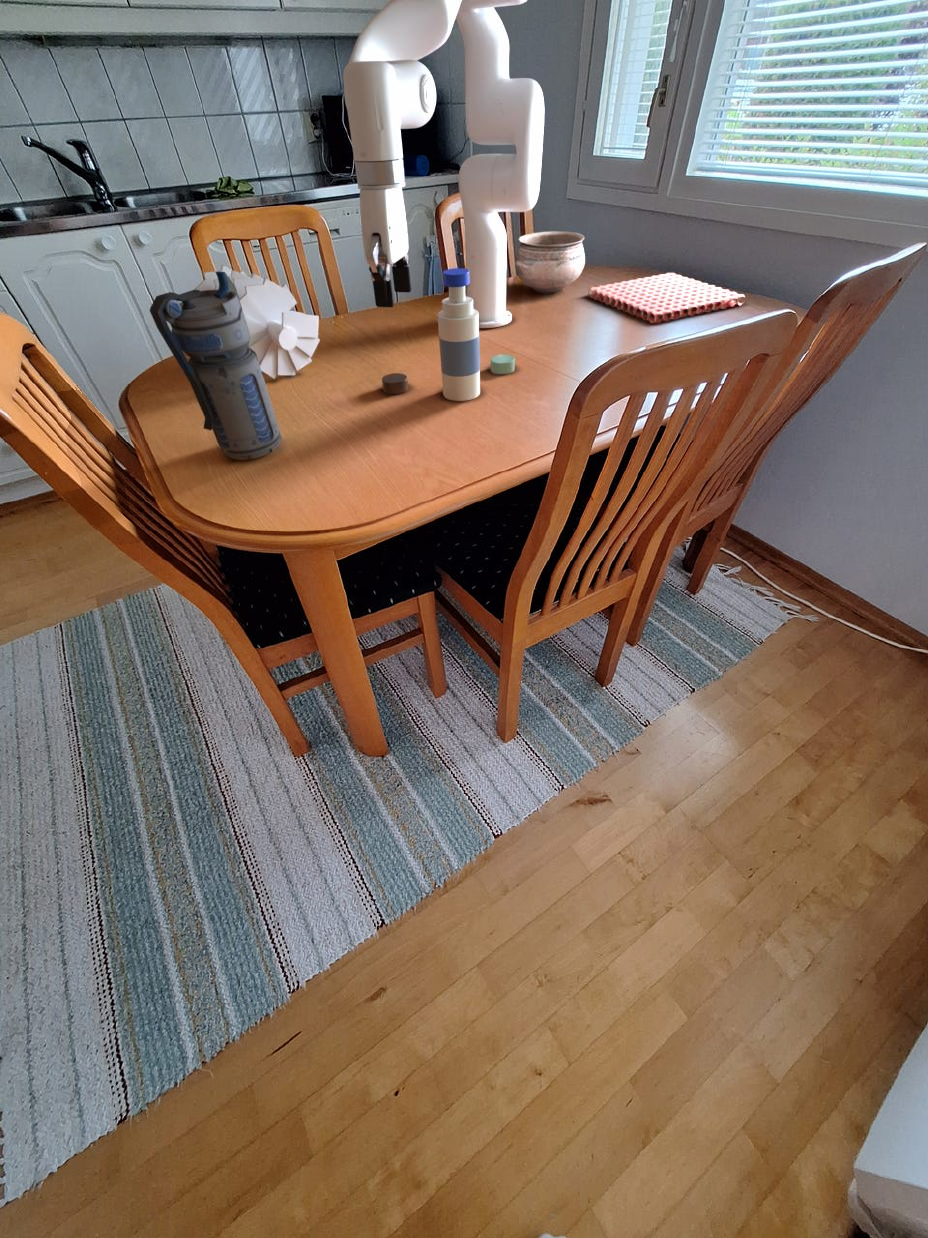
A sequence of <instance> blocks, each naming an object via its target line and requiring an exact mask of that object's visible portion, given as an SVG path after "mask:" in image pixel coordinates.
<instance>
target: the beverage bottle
mask: <svg viewBox="0 0 928 1238" xmlns="http://www.w3.org/2000/svg"><path fill="white" fill-rule="evenodd" d="M217 271H218V272H215V273H216V275H217V277H218V281H219V289H218V290H206V291H199V290H194V289H192V290H188V291H186V292H182V293H176V292H172V291H168V292H165V293H163V294H162V293H161V294H159V295H156V296H155V298H154V300H153V301H152V304H151V306H150V307H149V313H150V315H151V317H152V319H153V321H154V324H155V326H156V329H157V330H158V332H159V333H160V335H161V337H162V338H163V341H164V342H165V344H166V346H167V347H168V349H169V350H170V352H171V354H172V355H173V358H174V359H175V360H176V362H177V364H178V366H179V367H180V369H181V371H182V372H183V374H184V376H185V377H186V379H187V380H188V382H189V384H190V386H191V388H192V391H193V393H194V396H195V398H196V400H197V403H198V406H199V407H200V410H201V412H202V415H203V417H204V423H203V430H208V431H212V432H213V434H214V435H213V436H214V437H215V439H216V442H217V444H218V447H219V449H220V451H221V452H222V454H224V455H225V456H226V457H228V458H230V459H232V460H239V461H241V460H242V461H244V460H245V461H246V460H247V461H248V460H254V459H258V458H259V459H260V458H262V457H265V456H267V455H269V454H271V453H273V452H274V451H276V449H278V447H279V446H280V444H281V440H282V434H281V430H280V427H279V423H278V421H277V418H276V414H275V411H274V407H273V404H272V400H271V398H270V394H269V391H268V388H267V384H266V382H265V378H264V375H263V371H261V368H260V365H259V362H258V358H257V355H256V353H255V351H253V350H252V349H250V348H249V347H248V345H249V342H250V338H251V336H250V333H249V329H248V326H247V323H246V319H245V316H244V313H243V310H242V307H241V303H240V300H239V297H238V294H237V290H236V287H235V285H234V284H233V283H232V281H231V280H230V278H229V277H228V276H227V274H226V273H225V272H221V271H220V270H217ZM170 327H171V329H170ZM186 356H187V357H188V358H189V359H188V358H187V357H186Z"/></svg>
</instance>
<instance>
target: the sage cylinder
mask: <svg viewBox="0 0 928 1238" xmlns="http://www.w3.org/2000/svg"><path fill="white" fill-rule="evenodd" d="M515 360H516V358H515V356H513V355H511V354H505V353H504V354H503V353H501V354H496V355H493V356H491V357H490V360H489V361H490V364H489V365H490V372H491V373H493V374H495V375H509V374H512V373H514V371H515V369H516V368H515V362H516V361H515Z"/></svg>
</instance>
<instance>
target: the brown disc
mask: <svg viewBox="0 0 928 1238" xmlns="http://www.w3.org/2000/svg"><path fill="white" fill-rule="evenodd" d="M381 384H382V390H383V393H385V394H388V395H401V394H403V393H406V392H407V391H408V390H409V383H408V376H407V375H406V374H404V373H399V372H395V373H394V372H392V373H389V374H386V375H384V376H382V378H381Z"/></svg>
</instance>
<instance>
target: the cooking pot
mask: <svg viewBox="0 0 928 1238" xmlns="http://www.w3.org/2000/svg"><path fill="white" fill-rule="evenodd" d="M584 240H585V236H584V235H583V234H581V233H578V232H571V231H562V230H561V231H560V230H558V231H557V230H556V231H555V230H553V231H552V230H550V231H538V232H537V231H536V232H531V233H527V234H524V235H521V236H519V237H518V242H519V246H518V249H517V252H516V256H515V261H514V262H515V263H514V267H515V271H516V274H517V276H518V277H519V279H520V280H521V281H522V282H523V283H524V284H525V285H527V286H528V287H529V288H531V289H533V290H534V291H535V292H536V293H539V294H543V295H544V294H545V295H546V294H547V295H549V294H550V295H551V294H556V293H559V292H560V291H561V290H563V289H565V288H566V287H568V286H569V285H570V284H572V283H574V282H575V281H576V280H577V279H578V278H579V277H580V276H581V274H582V272H583V269H584V268H585V264H586V256H585V255H586V254H585V249H584V245H583V241H584Z"/></svg>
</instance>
